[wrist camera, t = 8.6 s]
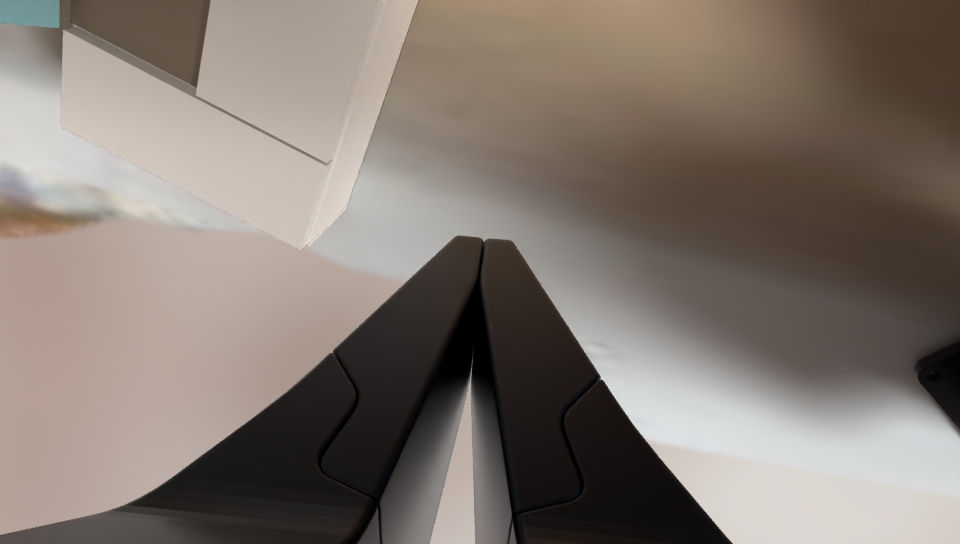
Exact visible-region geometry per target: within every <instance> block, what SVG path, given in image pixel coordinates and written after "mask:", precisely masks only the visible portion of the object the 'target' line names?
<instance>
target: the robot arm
mask: <svg viewBox="0 0 960 544" xmlns="http://www.w3.org/2000/svg"><path fill="white" fill-rule="evenodd" d="M472 359H473V362H472ZM471 368H472V376H471V412H472V446H473V477H474V478H473V480H474V513H475V544H733V543H732V542H731V541H730V540H729V539H728V538H727V537H726V536H725V535H724V533H723V532H722V531H721V530H720V529H719V527H718V526H717V525H716V524H715V523H714V522H713V521H712V519H711V518H710V517H709V516H708V515H707V513H706V512H705V511H704V510H703V509H702V507H701V506H700V505H699V504H698V503H697V501H696V500H695V499H694V498H693V497H692V496H691V494H690V493H689V492H688V491H687V490H686V488H685V487H684V486H683V485H682V484H681V483H680V482H679V480H678V479H677V478H676V477H675V476H674V474H673V473H672V472H671V471H670V470H669V469H668V467H667V466H666V465H665V464H664V462H663V461H662V460H661V459H660V458H659V457H658V455H657V454H656V453H655V451H654V450H653V449H652V448H651V446H650V445H649V444H648V443H647V441H646V440H645V439H644V438H643V436H642V435H641V434H640V433H639V431H638V430H637V429H636V428H635V426H634V425H633V424H632V422H631V421H630V419H629V418H628V416H627V415H626V414H625V412H624V411H623V409H622V408H621V406H620V405H619V404H618V402H617V401H616V399H615V398H614V396H613V395H612V393H611V392H610V390H609V388H608V387H607V385H606V384H605V382H604V381H603V380H601V377H600V375H599V373H598V372H597V370H596V369H595V367H594V366H593V364H592V363H591V361H590V360H589V358H588V356H587V355H586V353H585V352H584V350H583V349H582V347H581V346H580V344H579V343H578V341H577V340H576V338H575V336H574V335H573V333H572V332H571V330H570V329H569V327H568V326H567V324H566V323H565V321H564V320H563V318H562V317H561V315H560V313H559V312H558V310H557V309H556V307H555V306H554V304H553V303H552V301H551V300H550V298H549V297H548V295H547V293H546V292H545V290H544V289H543V287H542V286H541V284H540V283H539V281H538V280H537V278H536V277H535V275H534V273H533V272H532V270H531V269H530V267H529V266H528V264H527V263H526V261H525V260H524V258H523V257H522V255H521V254H520V252H519V250H518V249H517V247H516V246H515V244H514V243H513V242H512V241H510V240H500V239H487V240H485V242H483V240H482V239H481V238H479V237H468V236H456V237H454V238H453V239H452V240H451V241H450V242H449V243H448V244H447V245H446V246H445V247H443V248H442V249H441V250H440V251H439V252H438V253H437V254H436V255H435V256H434V257H433V258H432V259H431V260H430V261H428V262H427V263H426V264H425V265H424V266H423V267H422V268H421V269H420V270H419V271H418V272H417V273H416V274H415V275H413V276H412V277H411V278H410V279H409V280H408V281H407V282H406V283H405V284H404V285H403V286H402V287H401V288H399V290H397V291H396V292H395V293H394V294H393V295H392V296H391V297H390V298H389V299H388V300H387V301H386V302H384V303H383V304H382V305H381V306H380V307H379V308H378V309H377V310H376V311H375V312H374V313H373V314H372V315H371V316H369V317H368V318H367V319H366V320H365V321H364V322H363V323H362V324H361V325H360V326H359V327H358V328H357V329H356V330H355V331H353V332H352V333H351V334H350V335H349V336H348V337H347V338H346V339H345V340H344V341H343V342H342V343H341V344H339V345H338V346H337V347H336V348H335V349H334V350H333V353H330V354H328V355H327V356H326V357H325V358H324V359H323V360H322V361H321V362H320V363H319V364H318V365H317V366H315V367H314V368H313V369H312V370H311V371H310V372H309V373H308V374H306V375H305V376H304V377H303V378H302V379H301V380H300V381H299V382H297V384H295V385H294V386H293V387H292V388H290V389H289V390H288V391H287V392H286V393H284V394H283V395H282V396H281V397H279V398H278V399H277V400H275V401H274V402H273V403H272V404H270V405H269V406H268V407H267V408H265V409H264V410H263V411H261V412H260V413H259V414H257V415H256V416H255V417H253V418H252V419H251V420H249V421H248V422H247V423H246V424H244V425H243V426H241V427H240V428H239V429H237V430H236V431H234V432H233V433H232V434H230V435H229V436H228V437H226V438H225V439H224V440H222V441H221V442H220V443H218V444H217V445H215V446H214V447H213V448H212V449H210V450H209V451H207V452H206V453H205V454H203V455H202V456H201V457H199V458H198V459H196V460H195V461H194V462H192V463H191V464H190V465H188V466H187V467H186V468H184V469H183V470H181V471H180V472H179V473H178V474H176V475H175V476H173V477H172V478H171V479H169V480H168V481H166V482H165V483H163V484H162V485H160V486H159V487H157V488H156V489H154V490H152V491H151V492H149V493H147V494H146V495H144V496H142V497H140V498H138V499H136V500H134V501H132V502H130V503H128V504H125V505H123V506H120V507H118V508H115V509H112V510H109V511H106V512H102V513H98V514H94V515H90V516H85V517H81V518H76V519H71V520H67V521H62V522H58V523H53V524H49V525H44V526H39V527H35V528H31V529H26V530H21V531H17V532H12V533H8V534H3V535H0V544H430V540H431V536H432V531H433V528H434V524H435V520H436V515H437V512H438V507H439V504H440V499H441V496H442V491H443V488H444V484H445V480H446V476H447V471H448V468H449V464H450V460H451V456H452V452H453V448H454V444H455V439H456V436H457V432H458V427H459V424H460V420H461V415H462V411H463V408H464V404H465V399H466V396H467V391H468V386H469V382H470V375H471ZM935 369H937V370H939V371H937V372H936V373H933V374H927V373H928V372H930V371H931V370H935ZM914 372H915V374H916V376H917V378H918V380H919V382H920V383H921V384H922V385H923V387H924V388H925V389H926V390H927V391H928V392H929V394H930V395H931V396H932V397H933V398H934V399H935V401H936V402H937V403H938V404H939V405H940V406H941V408H942V409H943V410H944V411H945V412H946V413H947V415H948V416H949V417H950V418H951V419H952V420H953V422H954V423H955V424H956V425H957V426H958V427H959V429H960V342H958V343H956V344H954V345H952V346H949V347H947V348H945V349H943V350H940V351H938V352H936V353H934V354H931V355H929V356H927V357H925V358H922V359H921V360H919V361H918V362H917V363H916V364H915V366H914Z"/></svg>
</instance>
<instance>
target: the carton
mask: <svg viewBox="0 0 960 544" xmlns="http://www.w3.org/2000/svg"><path fill="white" fill-rule="evenodd" d="M417 3H418V0H71V23H73V27H72V28H67V29H63V52H62V94H61V128H63V129H65V130H67V131H69V132H71V133H73V134H75V135H77V136H79V137H81V138H83V139H85V140H87V141H88V142H90V143H92V144H94V145H96V146H98V147H100V148H102V149H104V150H106V151H108V152H110V153H112V154H114V155H116V156H118V157H120V158H121V159H123V160H125V161H127V162H129V163H131V164H133V165H135V166H137V167H139V168H141V169H143V170H145V171H147V172H149V173H151V174H153V175H154V176H156V177H158V178H160V179H162V180H164V181H166V182H168V183H170V184H172V185H174V186H176V187H178V188H180V189H182V190H184V191H186V192H187V193H189V194H191V195H193V196H195V197H197V198H199V199H201V200H203V201H205V202H207V203H209V204H211V205H213V206H215V207H217V208H219V209H221V210H222V211H224V212H226V213H228V214H230V215H232V216H234V217H236V218H238V219H240V220H242V221H244V222H246V223H248V224H250V225H252V226H254V227H255V228H257V229H259V230H261V231H263V232H265V233H267V234H269V235H271V236H273V237H275V238H277V239H279V240H281V241H283V242H285V243H287V244H288V245H290V246H292V247H295V248H296V249H298V250H301V249H302V248H303V247H304V246H305V245H306V246H308V247H309V246H310V245H311V244H312V243H313V242H314V241H315V240H316V239H317V238H318V237H319V236H320V235H321V234H322V233H323V232H324V231H325V230H326V229H327V228H328V227H329V226H330V225H331V224H332V223H333V222H334V221H335V220H336V219H337V218H338V217H339V216H340V215H341V214H342V213H343V212H344V211H345V210H346V207H347V204H348V202H349V199H350V196H351V193H352V190H353V187H354V184H355V181H356V179H357V176H358V173H359V170H360V167H361V164H362V161H363V158H364V156H365V153H366V150H367V147H368V144H369V141H370V138H371V135H372V133H373V130H374V127H375V124H376V121H377V118H378V115H379V112H380V110H381V107H382V104H383V101H384V98H385V95H386V92H387V89H388V87H389V84H390V81H391V78H392V75H393V72H394V69H395V66H396V63H397V61H398V58H399V55H400V52H401V49H402V46H403V43H404V40H405V38H406V35H407V32H408V29H409V26H410V23H411V20H412V17H413V15H414V12H415V9H416V6H417Z"/></svg>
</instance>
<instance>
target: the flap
mask: <svg viewBox="0 0 960 544" xmlns="http://www.w3.org/2000/svg"><path fill="white" fill-rule="evenodd" d="M59 17H60V0H0V23H5V24H17V25H28V26H39V27H51V28H59Z"/></svg>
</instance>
